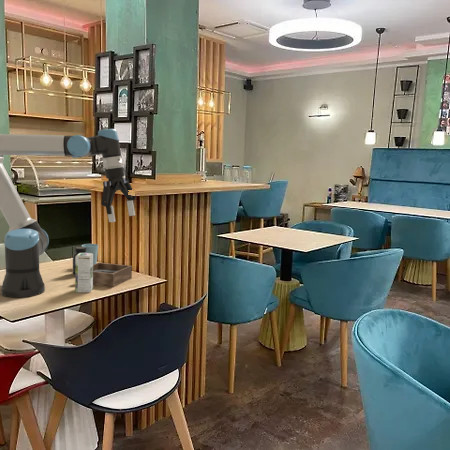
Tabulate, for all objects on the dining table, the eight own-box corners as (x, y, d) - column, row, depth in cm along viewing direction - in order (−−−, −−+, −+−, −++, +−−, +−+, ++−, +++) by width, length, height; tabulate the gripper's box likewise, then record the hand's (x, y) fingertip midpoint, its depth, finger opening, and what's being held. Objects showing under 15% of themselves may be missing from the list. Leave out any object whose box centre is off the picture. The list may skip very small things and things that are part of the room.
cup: (91, 269, 210) (91, 247, 209) (78, 267, 213) (78, 245, 212) (101, 265, 218) (101, 244, 216) (88, 264, 220) (88, 243, 219)
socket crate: (78, 283, 186) (78, 270, 185) (99, 274, 201) (99, 262, 200) (113, 287, 181) (113, 274, 181) (131, 278, 197) (131, 265, 196)
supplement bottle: (78, 276, 196) (78, 249, 195) (69, 274, 200) (69, 247, 199) (92, 273, 202) (91, 247, 200) (82, 271, 206) (82, 245, 204)
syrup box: (78, 288, 178) (77, 252, 176) (93, 288, 179) (93, 252, 177) (75, 292, 173) (74, 255, 171) (90, 292, 173) (90, 255, 171)
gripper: (101, 169, 171) (110, 224, 174) (138, 164, 193) (146, 212, 197) (85, 171, 174) (95, 225, 178) (124, 166, 196) (132, 213, 200)
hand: (122, 218), depth 187 cm, fingers open, 13 cm apart
